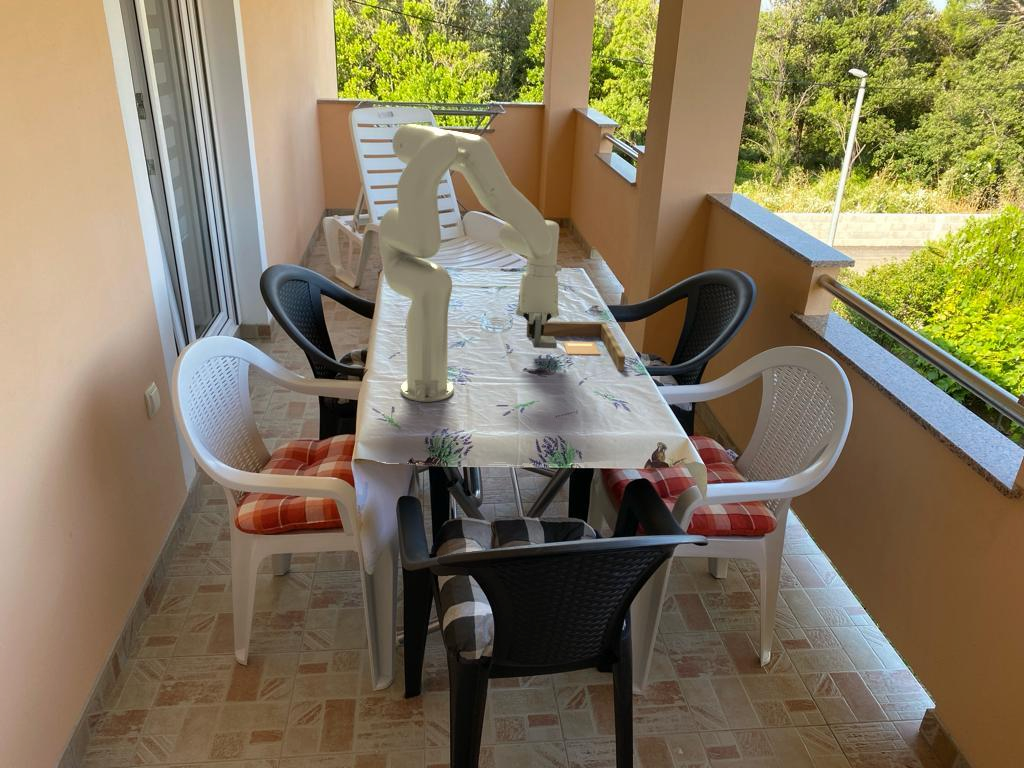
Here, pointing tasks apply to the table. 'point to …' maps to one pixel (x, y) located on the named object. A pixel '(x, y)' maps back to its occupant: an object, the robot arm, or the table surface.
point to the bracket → (545, 340)
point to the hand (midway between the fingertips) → (535, 336)
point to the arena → (587, 331)
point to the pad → (581, 348)
